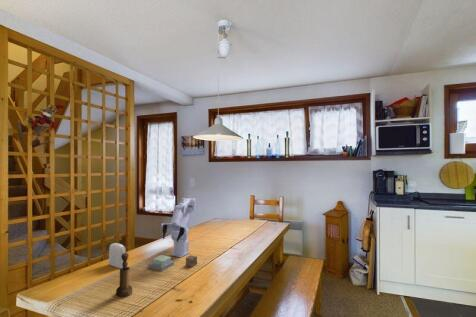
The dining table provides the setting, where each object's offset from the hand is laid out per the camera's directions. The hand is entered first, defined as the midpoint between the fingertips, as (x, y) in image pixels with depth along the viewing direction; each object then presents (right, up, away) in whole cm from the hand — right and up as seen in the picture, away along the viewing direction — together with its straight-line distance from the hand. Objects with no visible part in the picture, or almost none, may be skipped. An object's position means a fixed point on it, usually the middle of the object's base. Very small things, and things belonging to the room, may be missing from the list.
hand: (170, 239), depth 143 cm
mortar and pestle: (-13, -16, -28) cm, 35 cm away
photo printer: (-30, -16, +2) cm, 34 cm away
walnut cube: (+11, -16, +5) cm, 20 cm away
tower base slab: (-6, -17, +3) cm, 18 cm away
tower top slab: (-6, -14, +3) cm, 16 cm away
